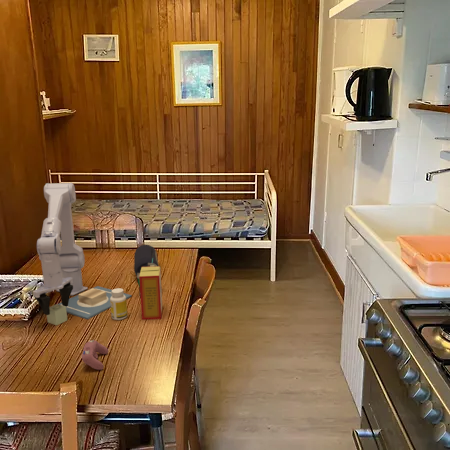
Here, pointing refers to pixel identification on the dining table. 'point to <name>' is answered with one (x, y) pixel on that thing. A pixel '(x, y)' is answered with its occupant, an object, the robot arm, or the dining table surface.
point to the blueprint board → (89, 309)
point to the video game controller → (93, 354)
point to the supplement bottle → (118, 304)
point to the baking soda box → (151, 292)
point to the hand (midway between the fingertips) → (56, 309)
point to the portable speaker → (144, 257)
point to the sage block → (57, 314)
